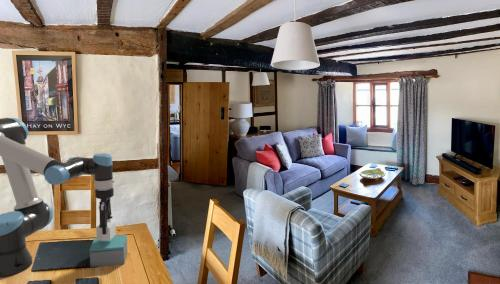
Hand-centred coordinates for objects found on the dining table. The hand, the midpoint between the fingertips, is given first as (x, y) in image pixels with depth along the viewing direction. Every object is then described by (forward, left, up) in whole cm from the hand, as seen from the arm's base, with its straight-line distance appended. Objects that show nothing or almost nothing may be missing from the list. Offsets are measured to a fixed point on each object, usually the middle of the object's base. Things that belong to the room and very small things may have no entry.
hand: (106, 236), depth 146 cm
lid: (+1, 0, -4) cm, 4 cm away
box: (+1, 0, -11) cm, 11 cm away
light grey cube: (0, 0, -1) cm, 1 cm away
